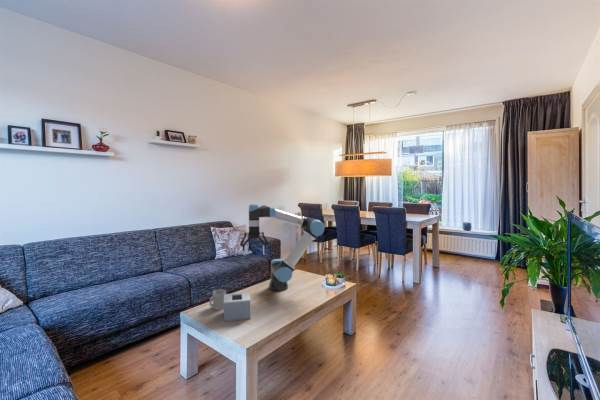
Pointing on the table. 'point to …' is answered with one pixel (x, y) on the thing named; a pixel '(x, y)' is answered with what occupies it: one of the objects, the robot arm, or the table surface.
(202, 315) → the table surface
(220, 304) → the mug
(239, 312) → the grey box with hole
